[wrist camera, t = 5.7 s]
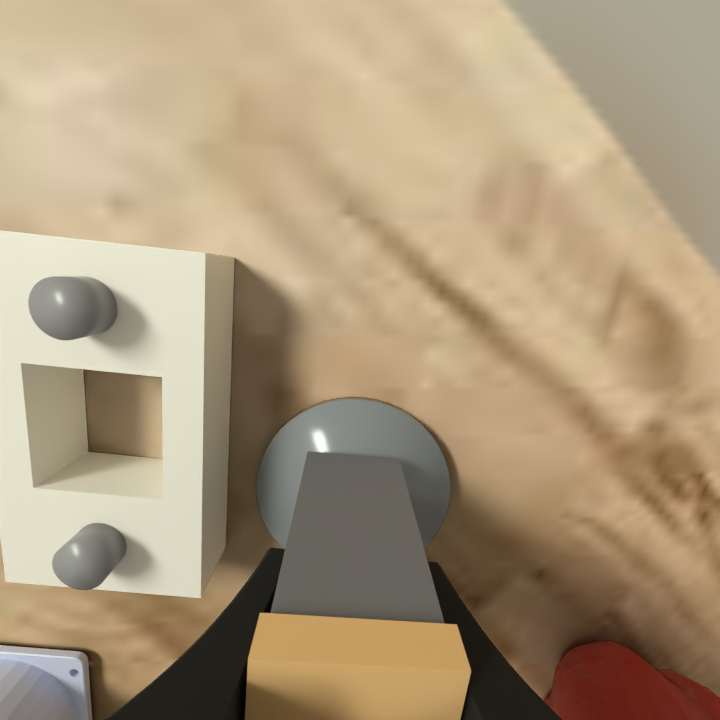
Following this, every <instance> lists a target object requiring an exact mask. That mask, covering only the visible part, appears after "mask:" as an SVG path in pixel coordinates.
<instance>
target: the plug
mask: <svg viewBox="0 0 720 720" xmlns="http://www.w3.org/2000/svg"><path fill="white" fill-rule="evenodd" d="M470 674H471V668H470V665H469V662H468V659H467V655H466V652H465V649H464V646H463V642H462V639H461V636H460V633H459V630H458V626H457V624H445V623H444V619H443V615H442V612H441V608H440V605H439V601H438V597H437V594H436V590H435V586H434V583H433V579H432V576H431V572H430V568H429V565H428V561H427V557H426V554H425V550H424V547H423V543H422V539H421V536H420V532H419V528H418V525H417V521H416V518H415V514H414V510H413V507H412V503H411V499H410V496H409V492H408V489H407V485H406V481H405V478H404V474H403V470H402V467H401V463H400V459H394V458H382V457H370V456H358V455H346V454H334V453H323V452H311V451H308V452H307V456H306V461H305V465H304V469H303V474H302V478H301V482H300V487H299V491H298V495H297V500H296V504H295V509H294V513H293V517H292V522H291V526H290V530H289V535H288V539H287V543H286V548H285V552H284V556H283V561H282V565H281V569H280V574H279V578H278V582H277V587H276V591H275V595H274V600H273V604H272V608H271V613H260V614H259V618H258V622H257V626H256V630H255V633H254V637H253V641H252V645H251V649H250V653H249V656H248V666H247V686H246V706H245V720H461V715H462V710H463V706H464V701H465V697H466V692H467V688H468V683H469V679H470Z"/></svg>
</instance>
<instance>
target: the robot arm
mask: <svg viewBox="0 0 720 720" xmlns="http://www.w3.org/2000/svg"><path fill="white" fill-rule="evenodd" d="M284 552H285V549H279V548H270V549H269V550H268V551H267V552H266V554H265V556H264V557H263V559H262V561H261V562H260V564H259V565H258V567H257V568H256V570H255V571H254V573H253V574H252V575H251V577H250V578H249V580H248V581H247V582H246V584H245V585H244V586H243V587H242V589H241V590H240V591H239V593H238V594H237V595H236V597H235V598H234V599H233V600H232V602H231V603H230V604H229V605H228V606H227V608H226V609H225V610H224V611H223V612H222V613H221V615H220V616H219V617H218V618H217V619H216V620H215V622H214V623H213V624H212V625H211V626H210V627H209V628H208V629H207V630H206V631H205V633H204V634H203V635H202V636H201V637H200V638H199V639H198V640H197V641H196V642H195V643H194V644H193V645H192V646H191V647H190V648H189V649H188V650H187V651H186V652H185V653H184V654H183V655H182V656H181V657H180V658H179V659H177V660H176V661H175V662H174V663H173V664H172V665H171V666H170V667H169V668H168V669H167V670H166V671H165V672H163V673H162V674H161V675H160V676H159V677H158V678H157V679H156V680H154V681H153V682H152V683H151V684H150V685H148V686H147V687H146V688H145V689H143V690H142V691H141V692H140V693H139V694H137V695H136V696H135V697H134V698H132V699H131V700H130V701H129V702H128V703H126V704H125V705H124V706H123V707H121V708H120V709H119V710H118V711H116V712H115V713H114V714H112V715H111V716H110V717H108V718H107V719H106V720H245V706H246V686H247V666H248V656H249V653H250V649H251V645H252V641H253V637H254V633H255V630H256V626H257V622H258V618H259V614H260V613H271V608H272V604H273V600H274V595H275V591H276V587H277V582H278V578H279V574H280V569H281V565H282V561H283V556H284ZM428 565H429V568H430V572H431V576H432V579H433V583H434V586H435V590H436V594H437V597H438V601H439V605H440V608H441V612H442V615H443V619H444V623H445V624H457V626H458V630H459V633H460V636H461V639H462V642H463V646H464V649H465V652H466V655H467V659H468V662H469V665H470V668H471V674H470V679H469V683H468V688H467V692H466V697H465V701H464V706H463V710H462V715H461V720H562V719H561V718H560V717H559V716H558V715H557V714H556V713H555V712H554V711H553V710H552V709H551V708H550V707H549V706H548V705H547V704H546V703H545V702H544V701H543V700H542V699H541V698H540V697H539V696H538V695H537V694H536V693H535V692H534V691H533V690H532V689H531V688H530V686H529V685H528V684H527V683H526V682H525V681H524V680H523V679H522V678H521V677H520V676H519V674H518V673H517V672H516V671H515V670H514V669H513V668H512V666H511V665H510V664H509V663H508V662H507V661H506V659H505V658H504V657H503V656H502V654H501V653H500V652H499V651H498V650H497V648H496V647H495V646H494V644H493V643H492V642H491V640H490V639H489V638H488V637H487V635H486V634H485V633H484V631H483V630H482V629H481V627H480V626H479V624H478V623H477V622H476V620H475V619H474V617H473V616H472V615H471V613H470V612H469V610H468V609H467V607H466V606H465V604H464V603H463V601H462V600H461V598H460V597H459V595H458V594H457V592H456V591H455V589H454V588H453V586H452V585H451V583H450V581H449V580H448V578H447V577H446V575H445V573H444V572H443V570H442V568H441V567H440V565H439V564H438V563H437V562H428ZM0 720H92V708H91V694H90V680H89V666H88V658H87V656H86V654H85V653H83V652H80V651H69V650H56V649H43V648H31V647H18V646H6V645H0Z"/></svg>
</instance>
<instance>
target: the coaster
mask: <svg viewBox="0 0 720 720" xmlns="http://www.w3.org/2000/svg"><path fill="white" fill-rule="evenodd" d="M308 451H311V452H323V453H334V454H346V455H358V456H370V457H382V458H394V459H400V463H401V467H402V470H403V474H404V478H405V481H406V485H407V489H408V492H409V496H410V499H411V503H412V507H413V510H414V514H415V518H416V521H417V525H418V528H419V532H420V536H421V539H422V543H423V547H424V548H425V547H426V546H427V545H428V544H429V543H430V542H431V540H432V539H433V538H434V536H435V535H436V534H437V532H438V531H439V529H440V527H441V525H442V524H443V521H444V519H445V516H446V514H447V510H448V506H449V502H450V493H451V486H450V476H449V471H448V467H447V464H446V461H445V458H444V456H443V454H442V451H441V449H440V448H439V446H438V444H437V442H436V440H435V439H434V437H433V436H432V434H431V433H430V432H429V431H428V429H427V428H426V427H425V426H424V425H423V424H422V423H421V422H420V421H418V420H417V419H416V418H415V417H413V416H412V415H411V414H409V413H408V412H406V411H404V410H403V409H401V408H399V407H397V406H394V405H392V404H390V403H387V402H383V401H380V400H377V399H371V398H364V397H344V398H336V399H331V400H327V401H323V402H320V403H318V404H315V405H312V406H310V407H308V408H306V409H304V410H302V411H301V412H299V413H298V414H296V415H295V416H294V417H292V418H291V419H290V420H289V421H288V422H286V423H285V424H284V425H283V426H282V427H281V428H280V430H279V431H278V432H277V433H276V434H275V436H274V437H273V439H272V441H271V442H270V444H269V445H268V447H267V449H266V451H265V453H264V456H263V458H262V460H261V463H260V466H259V470H258V474H257V482H256V496H257V502H258V507H259V510H260V514H261V517H262V519H263V521H264V523H265V525H266V527H267V529H268V531H269V532H270V534H271V535H272V537H273V538H274V539H275V540H276V541H277V543H278V544H279V545H280V546H281V547H282V548H283V549H285V548H286V543H287V539H288V535H289V530H290V526H291V522H292V517H293V513H294V509H295V504H296V500H297V495H298V491H299V487H300V482H301V478H302V474H303V469H304V465H305V461H306V456H307V452H308Z"/></svg>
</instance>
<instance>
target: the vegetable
mask: <svg viewBox="0 0 720 720" xmlns="http://www.w3.org/2000/svg"><path fill="white" fill-rule="evenodd" d="M544 702H545V703H546V704H547V705H548V706H549V707H550V708H551V709H552V710H553V711H554V712H555V713H556V714H557V715H558V716H559V717H560V718H561V719H562V720H720V698H719V697H718V696H717V695H715V694H714V693H713V692H712V691H710V690H709V689H708V688H706V687H704V686H702V685H700V684H698V683H696V682H694V681H692V680H690V679H688V678H686V677H684V676H682V675H680V674H679V673H677V672H675V671H673V670H657V669H654V668H653V667H652V666H651V665H650V664H649V663H647V662H646V661H645V660H644V659H643V658H642V657H640V656H639V655H638V654H636V653H635V652H633V651H632V650H630V649H629V648H627V647H626V646H623V645H620V644H617V643H614V642H611V641H602V642H594V643H589V644H584V645H581V646H577V647H575V648H573V649H571V650H569V651H568V652H567V653H566V654H565V656H564V657H563V658H562V659H561V661H560V662H559V663H558V664H557V666H556V670H555V675H554V680H553V685H552V690H551V694H550V695H549V696H548V698H547V699H546V700H545V701H544Z"/></svg>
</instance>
